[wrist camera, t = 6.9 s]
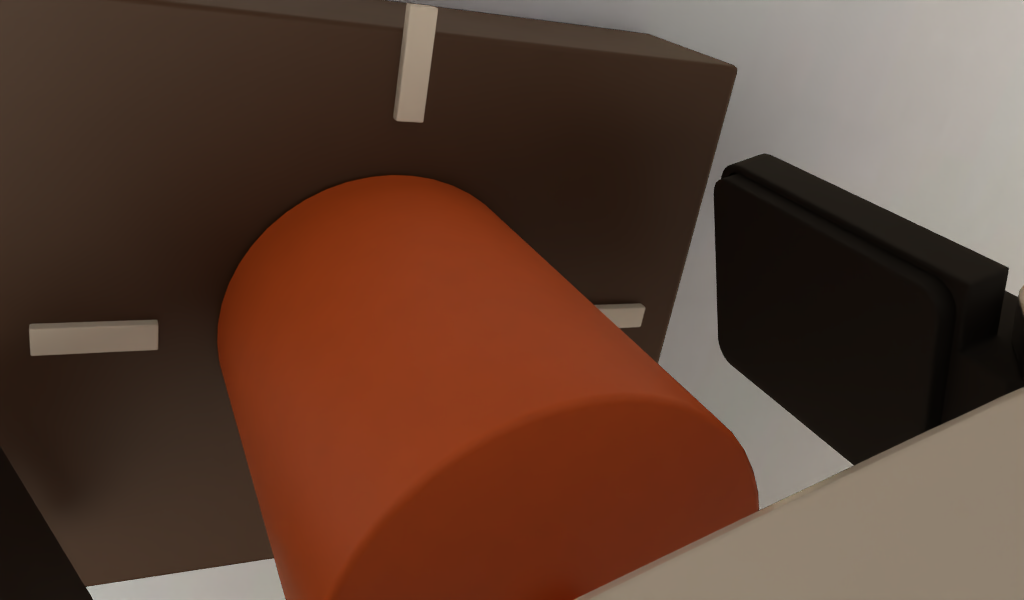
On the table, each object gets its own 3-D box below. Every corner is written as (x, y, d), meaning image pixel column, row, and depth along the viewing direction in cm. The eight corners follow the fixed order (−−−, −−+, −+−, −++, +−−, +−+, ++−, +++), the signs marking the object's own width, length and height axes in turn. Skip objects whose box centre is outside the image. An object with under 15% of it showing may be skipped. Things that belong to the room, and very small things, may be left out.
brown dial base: (654, 15, 15) (753, 48, 13) (556, 443, 18) (620, 525, 16) (-49, -83, 10) (-78, -58, 8) (-3, 505, 14) (-15, 630, 12)
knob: (187, 202, 10) (284, 511, 6) (525, 151, 12) (816, 360, 7) (244, 491, 13) (350, 885, 8) (525, 414, 14) (752, 707, 9)
